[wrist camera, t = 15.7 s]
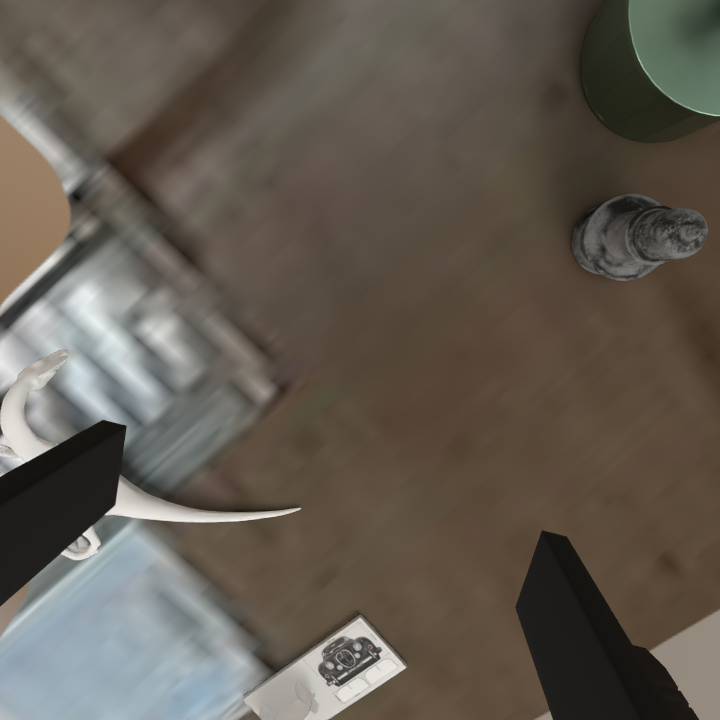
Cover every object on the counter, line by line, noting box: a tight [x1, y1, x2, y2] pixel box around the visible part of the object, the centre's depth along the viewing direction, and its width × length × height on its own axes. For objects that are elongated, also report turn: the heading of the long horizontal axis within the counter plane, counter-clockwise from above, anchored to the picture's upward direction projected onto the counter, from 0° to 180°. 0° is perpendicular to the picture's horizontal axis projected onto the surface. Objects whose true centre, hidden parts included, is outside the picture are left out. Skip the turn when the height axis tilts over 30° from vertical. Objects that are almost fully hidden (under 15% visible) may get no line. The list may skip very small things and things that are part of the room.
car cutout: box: [242, 614, 407, 720], centre depth 46 cm, size 15×7×4 cm, turn 130°
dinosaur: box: [0, 350, 301, 560], centre depth 45 cm, size 25×9×16 cm
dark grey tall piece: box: [571, 194, 708, 281], centre depth 33 cm, size 6×6×12 cm
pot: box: [580, 0, 720, 143], centre depth 32 cm, size 11×11×8 cm
